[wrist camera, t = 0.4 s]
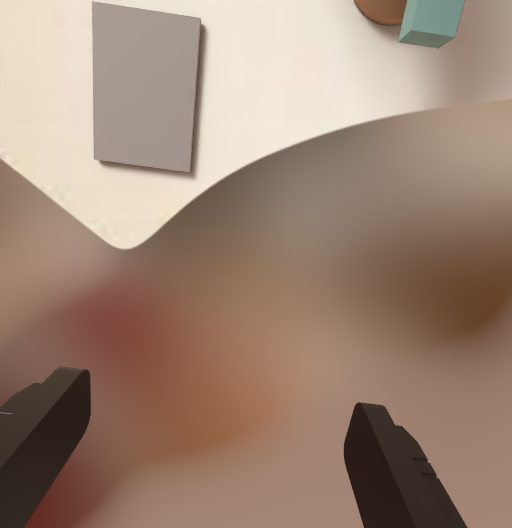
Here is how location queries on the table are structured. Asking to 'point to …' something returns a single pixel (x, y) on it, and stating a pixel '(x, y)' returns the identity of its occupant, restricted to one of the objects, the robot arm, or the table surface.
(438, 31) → the teal square frame paddle
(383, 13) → the stand
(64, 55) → the table surface
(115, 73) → the mat
